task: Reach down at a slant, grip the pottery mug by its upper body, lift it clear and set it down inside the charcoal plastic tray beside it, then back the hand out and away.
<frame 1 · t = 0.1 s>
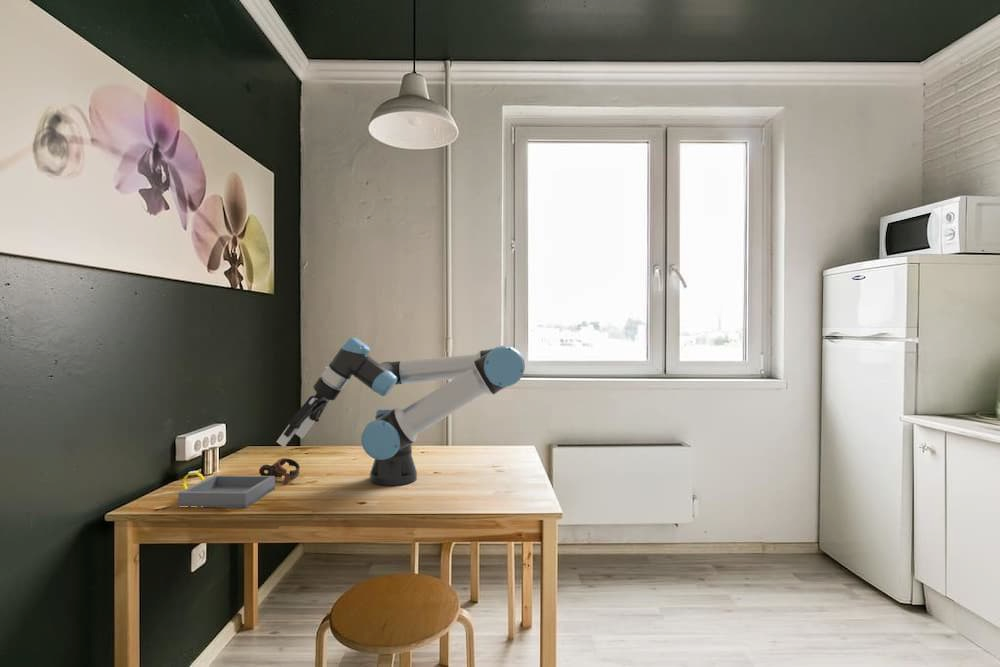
hand: (290, 440, 164), 15 cm above the table, tool tilted 35°, fingers open, 13 cm apart
tray: (229, 497, 156), on the table
pottery mug: (279, 482, 173), on the table
watch: (193, 491, 162), on the table
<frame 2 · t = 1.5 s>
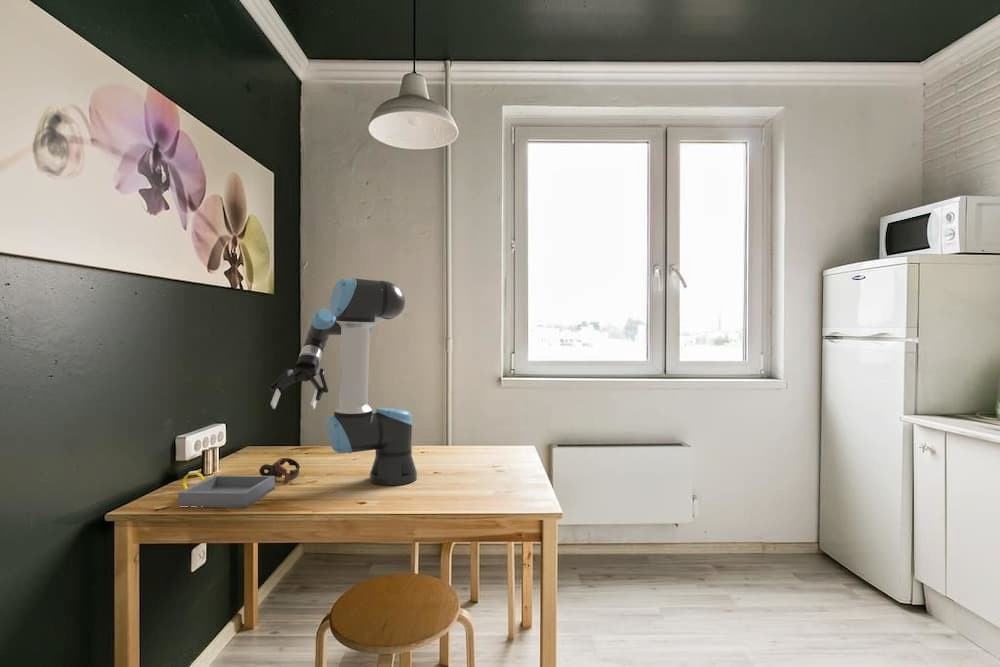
hand: (292, 406, 184), 23 cm above the table, tool tilted 45°, fingers open, 13 cm apart
nothing on the table moved.
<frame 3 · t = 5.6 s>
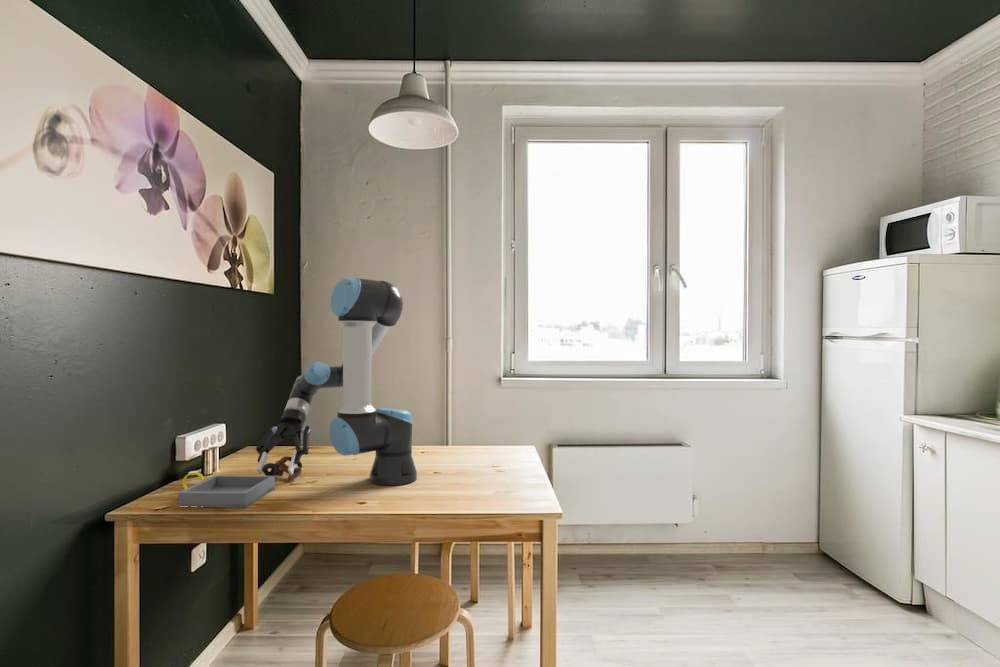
hand: (274, 472, 170), 4 cm above the table, tool tilted 45°, fingers open, 9 cm apart
pottery mug: (281, 480, 175), on the table, touching gripper
everything else where it was.
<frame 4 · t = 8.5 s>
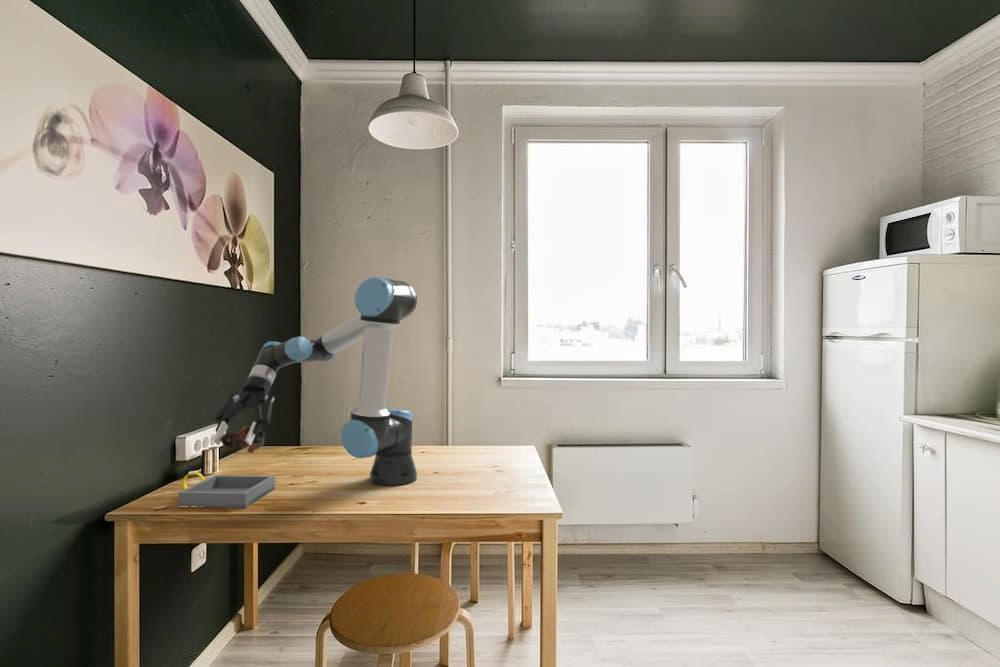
hand: (232, 442, 157), 16 cm above the table, tool tilted 45°, fingers closed on pottery mug, 9 cm apart
pottery mug: (242, 451, 163), point 12 cm above the table, touching gripper
everything else where it was.
when the fingers open (6 cm above the table, at t = 11.1 s): pottery mug drops 1 cm, resting on tray.
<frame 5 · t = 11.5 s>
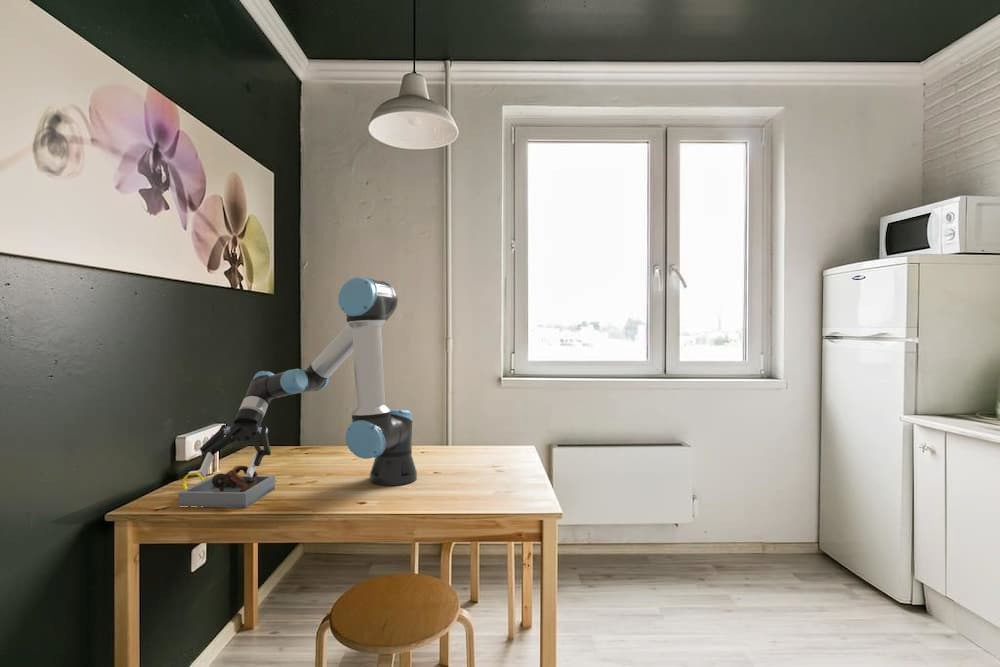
hand: (225, 474, 153), 7 cm above the table, tool tilted 45°, fingers open, 13 cm apart
pottery mug: (234, 492, 158), point 1 cm above the table, touching tray
everything else where it was.
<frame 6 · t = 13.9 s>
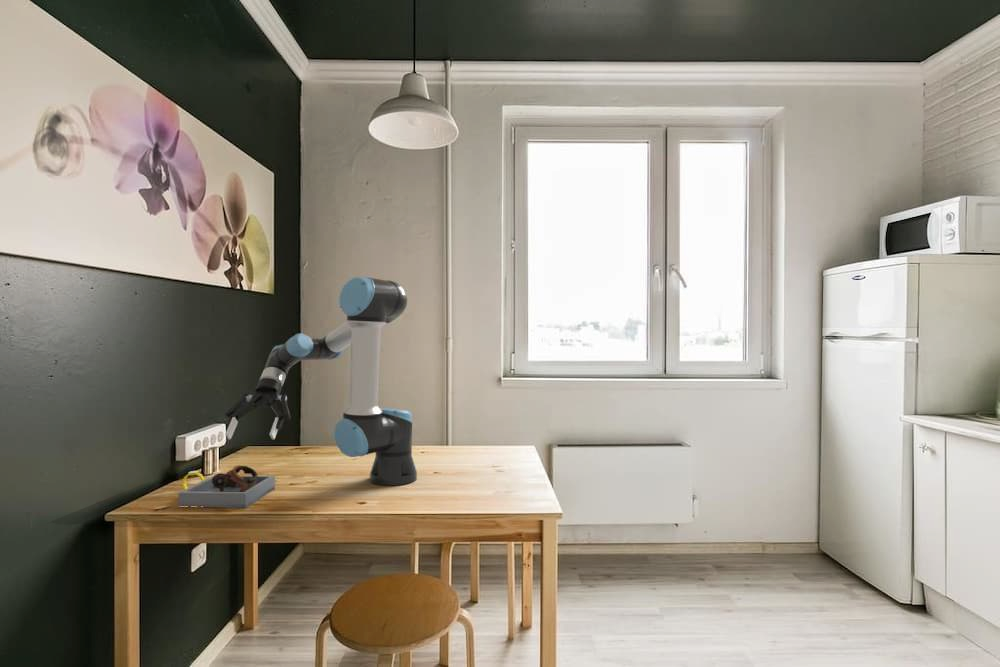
hand: (249, 437, 167), 15 cm above the table, tool tilted 45°, fingers open, 13 cm apart
nothing on the table moved.
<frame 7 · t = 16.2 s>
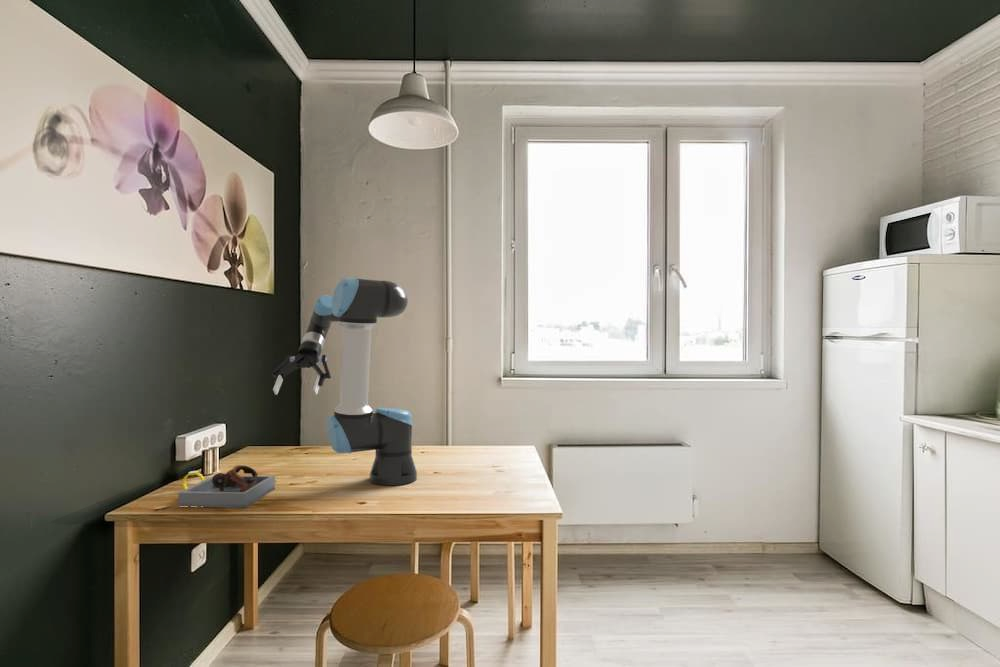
hand: (294, 392, 183), 28 cm above the table, tool tilted 45°, fingers open, 13 cm apart
nothing on the table moved.
at the end: pottery mug inside the target area on the tray (2.8 cm from its centre), point 0.8 cm above the tray's base; pottery mug tilted 0°; the gripper is holding nothing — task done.
